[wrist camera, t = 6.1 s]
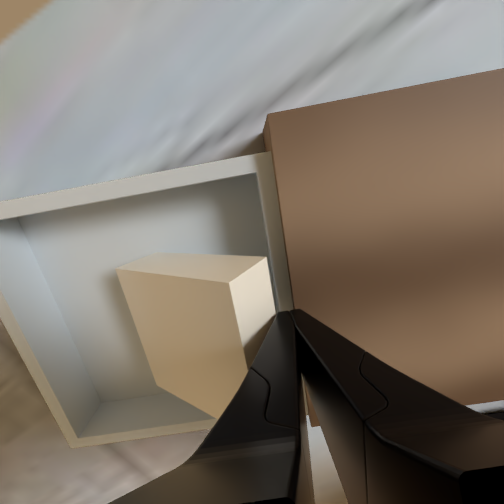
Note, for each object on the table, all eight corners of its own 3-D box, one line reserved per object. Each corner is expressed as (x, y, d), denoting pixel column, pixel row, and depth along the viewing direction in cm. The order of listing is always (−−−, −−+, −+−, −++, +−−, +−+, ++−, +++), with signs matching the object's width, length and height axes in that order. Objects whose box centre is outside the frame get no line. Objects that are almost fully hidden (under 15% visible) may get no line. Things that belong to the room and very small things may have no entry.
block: (289, 398, 10) (263, 445, 8) (188, 357, 13) (156, 385, 12) (266, 256, 8) (228, 282, 6) (156, 252, 11) (115, 268, 10)
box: (299, 376, 14) (308, 414, 12) (99, 406, 15) (71, 448, 12) (266, 156, 11) (271, 150, 8) (6, 205, 11) (-58, 212, 9)
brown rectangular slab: (458, 352, 14) (513, 398, 11) (299, 376, 14) (311, 426, 11) (479, 90, 10) (572, 55, 7) (262, 132, 10) (267, 113, 7)
